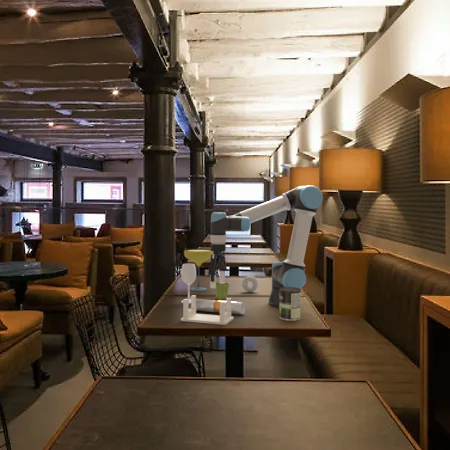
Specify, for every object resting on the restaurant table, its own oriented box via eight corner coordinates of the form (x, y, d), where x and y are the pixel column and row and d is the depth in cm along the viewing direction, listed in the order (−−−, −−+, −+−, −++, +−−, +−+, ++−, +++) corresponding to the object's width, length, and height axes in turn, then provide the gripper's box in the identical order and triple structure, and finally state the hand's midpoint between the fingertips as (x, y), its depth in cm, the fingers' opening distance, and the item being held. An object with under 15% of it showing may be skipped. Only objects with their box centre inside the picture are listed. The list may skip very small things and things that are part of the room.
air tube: (244, 314, 242) (245, 301, 243) (241, 315, 236) (242, 302, 237) (196, 310, 250) (197, 298, 251) (191, 311, 244) (192, 298, 245)
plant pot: (230, 297, 283) (230, 282, 282) (229, 300, 273) (229, 285, 273) (214, 296, 284) (214, 282, 283) (212, 300, 274) (212, 284, 274)
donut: (258, 291, 300) (258, 275, 299) (258, 292, 296) (258, 276, 296) (241, 291, 300) (241, 275, 299) (241, 292, 296) (241, 276, 296)
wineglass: (184, 304, 263) (184, 265, 262) (178, 301, 271) (178, 263, 270) (199, 302, 267) (199, 264, 266) (192, 299, 275) (192, 262, 274)
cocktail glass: (212, 292, 298) (212, 251, 296) (183, 292, 298) (182, 251, 297) (213, 286, 316) (213, 248, 314) (185, 286, 316) (185, 248, 315)
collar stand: (233, 318, 231) (233, 297, 231) (225, 324, 220) (225, 303, 219) (190, 315, 238) (190, 294, 238) (180, 320, 227) (180, 299, 226)
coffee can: (279, 320, 228) (280, 290, 227) (278, 315, 238) (278, 287, 237) (302, 321, 227) (302, 291, 226) (299, 315, 237) (299, 287, 237)
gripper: (219, 241, 254) (218, 281, 255) (201, 245, 231) (201, 289, 232) (233, 241, 252) (232, 282, 253) (216, 245, 228) (216, 290, 229)
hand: (217, 285), depth 242 cm, fingers open, 13 cm apart
